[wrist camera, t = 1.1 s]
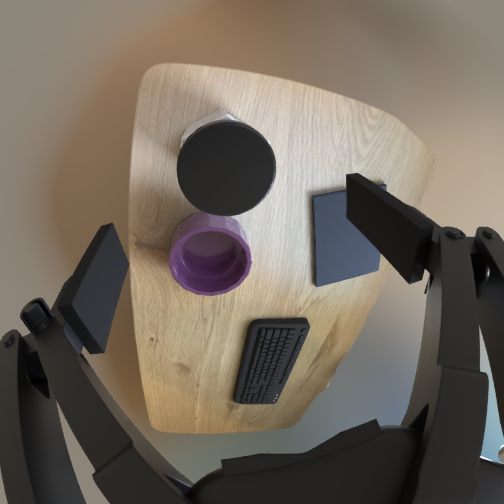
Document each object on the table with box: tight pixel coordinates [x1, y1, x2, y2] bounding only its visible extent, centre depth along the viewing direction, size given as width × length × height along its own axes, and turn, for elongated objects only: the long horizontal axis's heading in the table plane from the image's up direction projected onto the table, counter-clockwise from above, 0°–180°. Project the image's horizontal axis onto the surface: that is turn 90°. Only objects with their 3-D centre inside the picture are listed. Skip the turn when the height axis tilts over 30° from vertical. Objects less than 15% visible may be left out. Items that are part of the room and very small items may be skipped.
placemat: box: [312, 184, 387, 287], centre depth 42 cm, size 16×12×1 cm
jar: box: [177, 109, 276, 216], centre depth 27 cm, size 9×8×12 cm
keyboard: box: [233, 318, 310, 404], centre depth 56 cm, size 30×11×2 cm, turn 171°
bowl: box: [169, 212, 252, 296], centre depth 37 cm, size 10×10×5 cm
